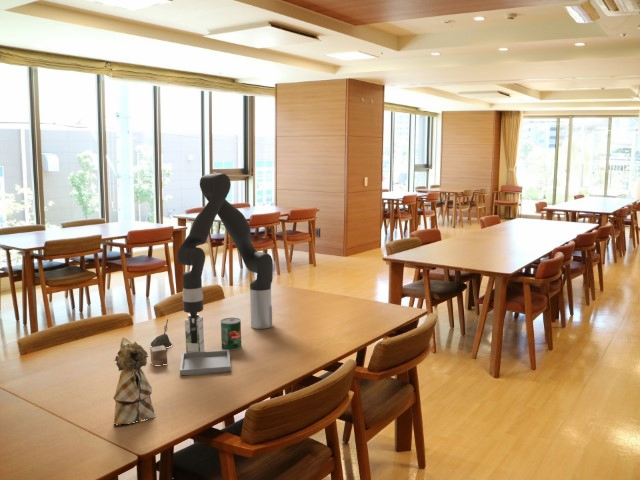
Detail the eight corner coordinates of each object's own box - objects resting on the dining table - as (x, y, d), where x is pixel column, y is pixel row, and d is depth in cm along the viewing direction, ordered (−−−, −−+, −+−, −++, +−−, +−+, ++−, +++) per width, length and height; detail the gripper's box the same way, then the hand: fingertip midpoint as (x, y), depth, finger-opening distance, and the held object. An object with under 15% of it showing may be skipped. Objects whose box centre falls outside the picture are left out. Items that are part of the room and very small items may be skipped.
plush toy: (170, 402, 185) (147, 328, 180) (160, 424, 171) (135, 344, 166) (126, 412, 185) (102, 338, 180) (113, 435, 171) (86, 356, 167)
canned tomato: (237, 351, 233) (236, 324, 231) (218, 349, 234) (217, 322, 233) (244, 344, 241) (243, 318, 239) (225, 343, 242) (224, 317, 240)
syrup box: (204, 351, 233) (203, 315, 230) (200, 356, 227) (198, 320, 225) (190, 351, 233) (189, 315, 231) (185, 356, 228) (184, 319, 225)
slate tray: (229, 355, 228) (229, 349, 228) (230, 372, 211) (230, 366, 211) (182, 358, 225) (182, 352, 225) (180, 376, 208) (179, 370, 208)
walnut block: (164, 360, 223) (163, 345, 222) (167, 365, 219) (166, 349, 218) (151, 362, 221) (150, 347, 220) (153, 367, 217) (152, 351, 216)
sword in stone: (144, 346, 239) (144, 317, 238) (160, 342, 246) (159, 313, 244) (161, 351, 233) (160, 321, 232) (176, 346, 240) (176, 317, 238)
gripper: (202, 303, 220) (204, 344, 223) (203, 293, 234) (204, 333, 237) (181, 304, 219) (183, 346, 222) (183, 294, 233) (185, 334, 236)
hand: (194, 339), depth 229 cm, fingers open, 8 cm apart
